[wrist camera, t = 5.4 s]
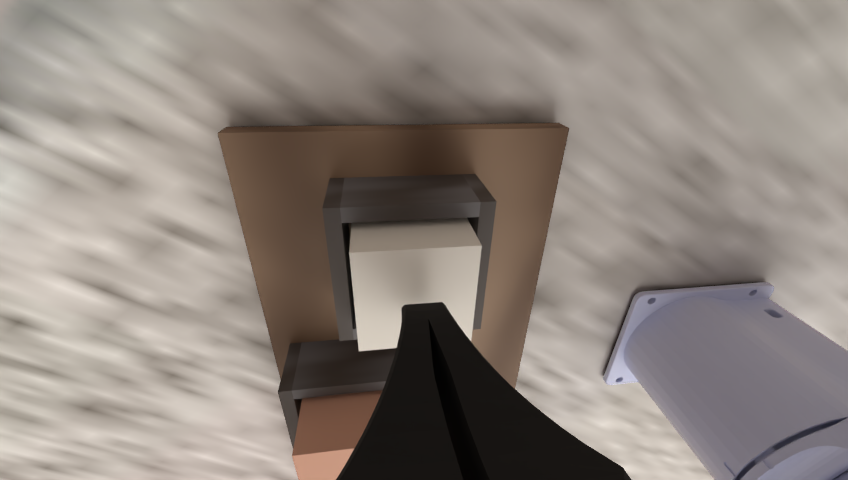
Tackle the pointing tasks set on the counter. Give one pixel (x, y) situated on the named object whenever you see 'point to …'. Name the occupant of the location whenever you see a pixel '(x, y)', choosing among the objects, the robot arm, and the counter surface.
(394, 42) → the counter surface
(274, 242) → the brown socket board
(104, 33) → the counter surface
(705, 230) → the counter surface
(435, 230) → the cream cube
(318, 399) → the salmon pink cube
